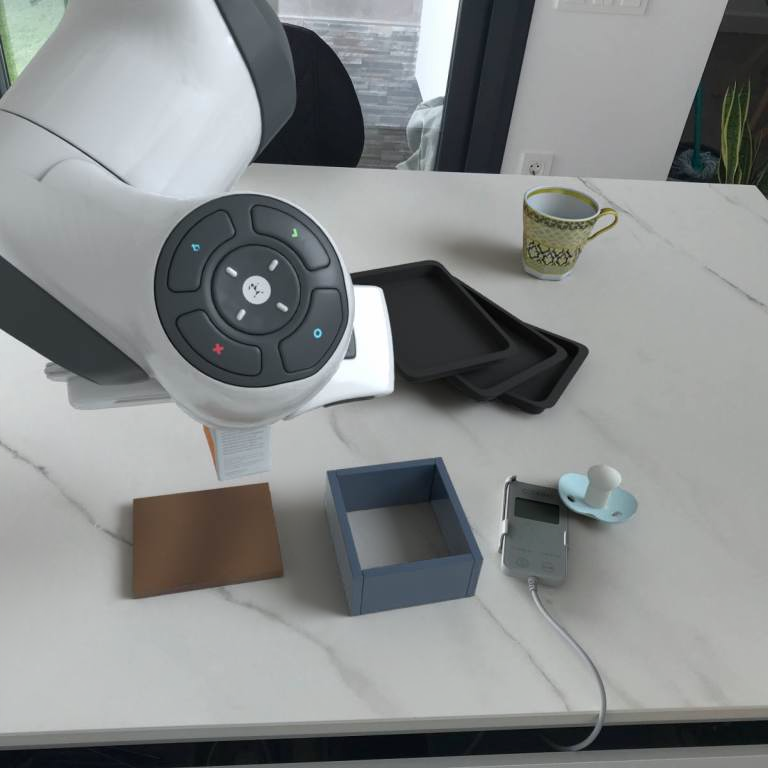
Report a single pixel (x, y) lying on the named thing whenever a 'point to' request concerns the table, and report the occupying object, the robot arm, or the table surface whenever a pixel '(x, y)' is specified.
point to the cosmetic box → (239, 452)
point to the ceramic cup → (558, 229)
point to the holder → (407, 579)
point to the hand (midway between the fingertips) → (231, 377)
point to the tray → (470, 339)
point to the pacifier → (598, 495)
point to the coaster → (204, 540)
